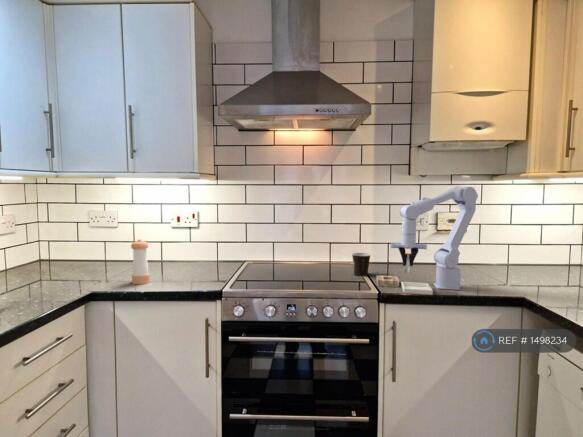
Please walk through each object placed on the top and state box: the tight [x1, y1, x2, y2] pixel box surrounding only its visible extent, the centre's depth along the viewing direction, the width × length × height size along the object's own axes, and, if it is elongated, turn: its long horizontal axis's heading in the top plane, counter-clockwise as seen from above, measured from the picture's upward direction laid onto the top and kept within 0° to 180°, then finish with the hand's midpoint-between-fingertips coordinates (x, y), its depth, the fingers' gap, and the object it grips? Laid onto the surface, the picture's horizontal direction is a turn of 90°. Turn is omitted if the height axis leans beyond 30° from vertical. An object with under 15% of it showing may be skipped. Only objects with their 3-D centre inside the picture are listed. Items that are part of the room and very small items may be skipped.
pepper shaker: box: [130, 239, 151, 285], centre depth 164 cm, size 7×7×19 cm
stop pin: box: [404, 252, 412, 274], centre depth 157 cm, size 2×2×8 cm
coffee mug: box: [352, 252, 371, 277], centre depth 180 cm, size 12×9×10 cm
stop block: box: [376, 274, 400, 288], centre depth 165 cm, size 9×9×2 cm
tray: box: [400, 281, 434, 296], centre depth 155 cm, size 11×11×2 cm
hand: (407, 265), depth 157 cm, fingers closed on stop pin, 2 cm apart
